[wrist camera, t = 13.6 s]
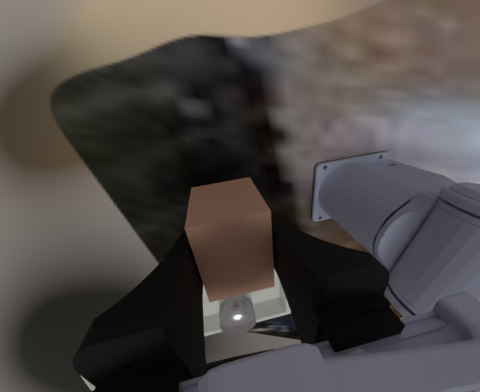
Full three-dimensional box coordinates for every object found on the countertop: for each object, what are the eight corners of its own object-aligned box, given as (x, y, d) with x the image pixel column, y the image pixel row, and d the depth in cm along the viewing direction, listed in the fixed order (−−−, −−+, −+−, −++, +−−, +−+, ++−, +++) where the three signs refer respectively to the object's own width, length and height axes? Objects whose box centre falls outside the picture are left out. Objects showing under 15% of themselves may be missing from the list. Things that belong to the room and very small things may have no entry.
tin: (242, 269, 25) (250, 308, 21) (251, 287, 27) (260, 326, 23) (213, 279, 25) (214, 320, 21) (224, 296, 28) (227, 338, 23)
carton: (249, 177, 12) (270, 210, 8) (256, 238, 15) (274, 286, 11) (191, 187, 12) (184, 228, 8) (208, 248, 15) (209, 302, 11)
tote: (282, 232, 25) (291, 247, 22) (283, 295, 31) (290, 313, 28) (162, 258, 23) (157, 278, 20) (190, 319, 30) (189, 340, 27)
